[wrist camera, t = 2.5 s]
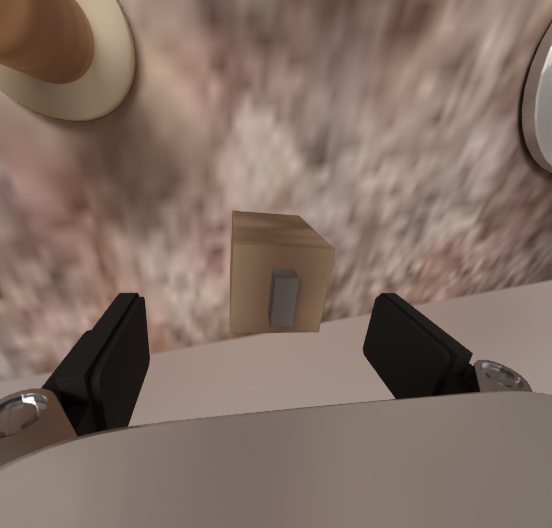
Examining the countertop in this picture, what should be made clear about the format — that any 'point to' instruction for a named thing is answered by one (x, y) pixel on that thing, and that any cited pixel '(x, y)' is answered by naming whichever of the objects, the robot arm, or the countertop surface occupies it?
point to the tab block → (277, 274)
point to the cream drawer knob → (66, 56)
